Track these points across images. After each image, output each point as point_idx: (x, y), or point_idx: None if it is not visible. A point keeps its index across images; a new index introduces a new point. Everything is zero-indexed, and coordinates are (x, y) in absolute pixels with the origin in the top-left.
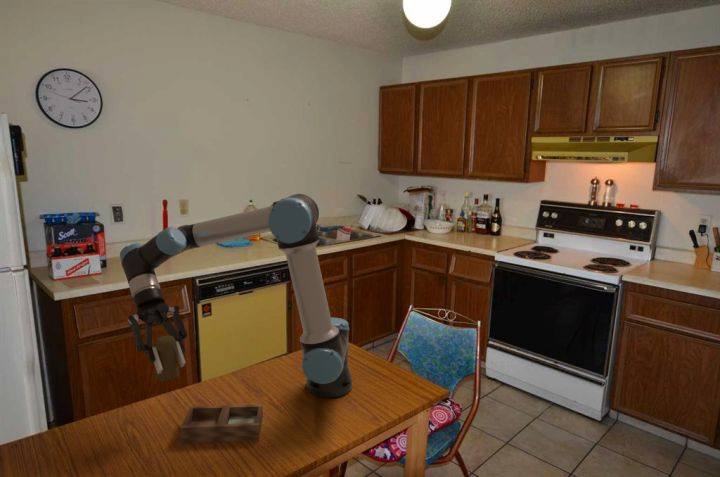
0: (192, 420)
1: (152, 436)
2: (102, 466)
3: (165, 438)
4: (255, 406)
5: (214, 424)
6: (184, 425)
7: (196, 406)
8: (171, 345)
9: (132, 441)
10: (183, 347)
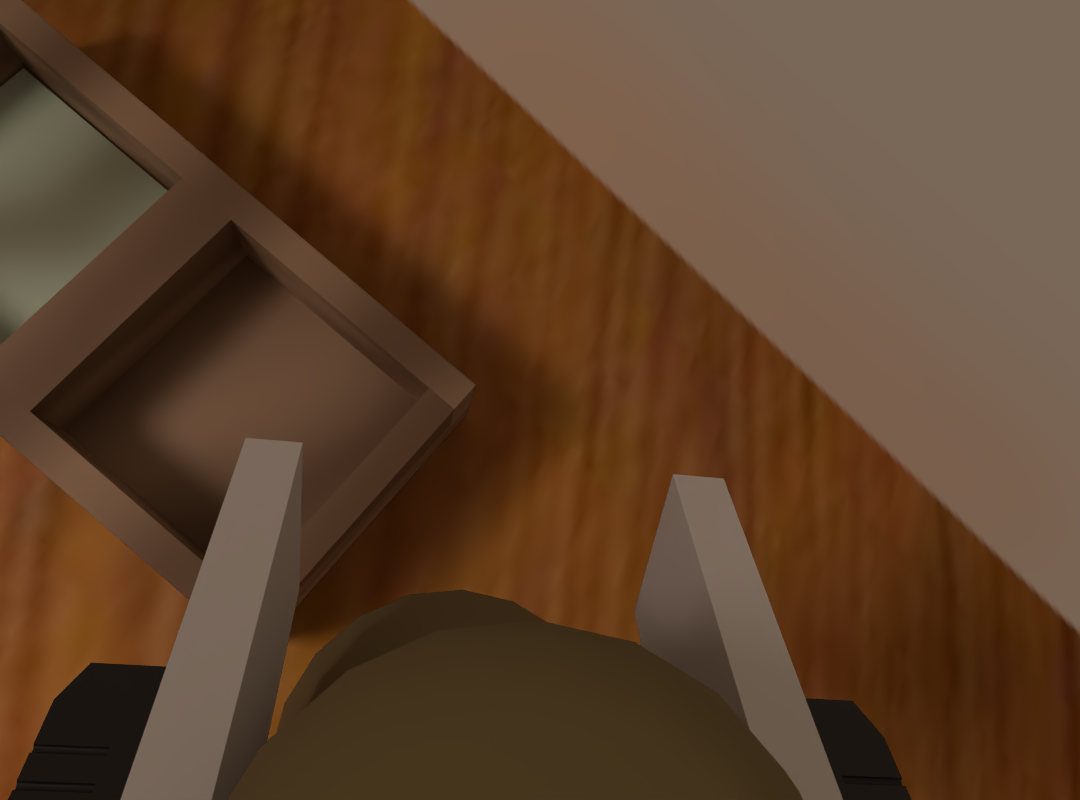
0: None
1: None
2: (937, 546)
3: (522, 554)
4: None
5: (247, 229)
6: (435, 393)
7: None
8: (452, 629)
9: None
10: (46, 759)
